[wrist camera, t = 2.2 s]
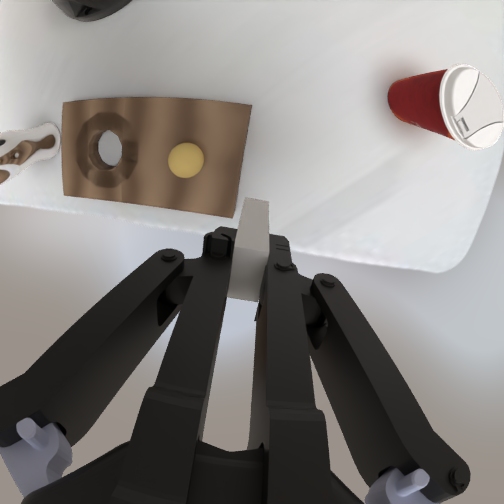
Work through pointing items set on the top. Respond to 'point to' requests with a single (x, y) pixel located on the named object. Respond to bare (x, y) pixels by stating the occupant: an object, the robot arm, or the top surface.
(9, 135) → the beer glass
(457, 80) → the coffee cup
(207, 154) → the board
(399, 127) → the top surface
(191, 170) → the ball
